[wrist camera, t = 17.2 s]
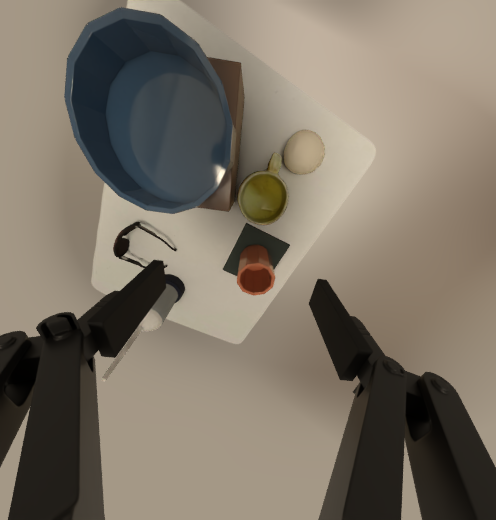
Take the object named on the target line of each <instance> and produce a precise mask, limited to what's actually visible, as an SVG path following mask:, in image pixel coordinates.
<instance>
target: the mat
mask: <svg viewBox="0 0 496 520" xmlns="http://www.w3.org/2000/svg"><path fill="white" fill-rule="evenodd" d="M250 245H260V246H263V247H264V248H266V249H267V251H268V252H269V255H270V256H271V260H272V265H273V270H274V269H275V267H276V266H277V264H278V263H279V261H280V260H281V258H282V257H283V255H284V254H285V252H286V251H287V249H288V248H289V246H290V245H289V244H287V243H285V242H283V241H281V240H279V239H277V238H275V237H273V236H271V235H269V234H267V233H265V232H263V231H261V230H259V229H257V228H255V227H253V226H251V225H249V224H247V223H246V225H245V227H244V229H243V231H242V233H241V235H240V237H239V239H238V241H237V243H236V245H235V247H234V249H233V250H232V252H231V254H230V256H229V258H228V260H227V262H226V264H225V266H224V268H223V270H224V271H226V272H229V273H231V274H233V275H236V276H238V269H239V262H240V255H241V253H242V251H243V250H244V249H245V248H246V247H248V246H250Z"/></svg>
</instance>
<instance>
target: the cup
mask: <svg viewBox="0 0 496 520" xmlns="http://www.w3.org/2000/svg"><path fill="white" fill-rule="evenodd" d="M274 280H275V274H274V270H273V265H272V260H271V256H270V255H269V252H268V251H267V249H266V248H264V247H263V246H260V245H250V246H248V247H246V248H245V249H244V250H243V251H242V253H241V255H240V262H239V269H238V276H237V284H238V285H239V287H240V288H241V290H242V291H243V292H246V293H248V294H251V295H260V294H265V293H266V292H267V291H269V290H270V289H271V288H272V287H273V284H274Z"/></svg>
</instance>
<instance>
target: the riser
mask: <svg viewBox="0 0 496 520" xmlns="http://www.w3.org/2000/svg"><path fill="white" fill-rule="evenodd" d="M207 59H208V60H209V62H210V63H211V65H212V67H213V68H214V70H215V71H216V73H217V75H218V76H219V78H220V79H221V81H222V84H223V86H224V89H225V92H226V95H227V98H228V101H229V105H230V109H231V113H232V117H233V121H234V125H235V129H236V144H235V156H234V164H233V166H232V169H231V171H230V173H229V175H228V177H227V179H226V181H225V183H224V186H223V187H222V188H221V189H220V190H219V191H217V192H216V193H215V194H214V195H213V196H212V197H211V198H209V199H208V200H207V201H206V202H204V203H203V204H201V205H200V206H198V208H206V209H213V210H220V211H228V212H229V211H230V209H231V207H232V206H233V204H234V202H235V194H236V184H237V173H238V162H239V151H240V140H241V129H242V119H243V108H244V88H243V79H242V69H241V63H239V62H233V61H227V60H221V59H215V58H209V57H207ZM119 197H120V196H119Z"/></svg>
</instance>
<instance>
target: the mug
mask: <svg viewBox="0 0 496 520" xmlns="http://www.w3.org/2000/svg"><path fill="white" fill-rule="evenodd" d="M281 162H282V157H281V156H280V155H279V154H277V153H275V152H274V153H273V155H272V157H271V159H270V161H269V163H268V168H267V170H266V171H257V172H254V173H252V174H251V175H249V176H248V177H246V178H245V179H244V181H243V182H242V183H241V185H240V187H239V190H238V194H237V201H238V204H239V207H240V210H241V212H242V214H243V215H244V216H245V218H247V220H249V221H250V222H253V223H255V224H258V225H269V224H271V223H274V222H275V221H277V220H278V219H279V218H280V217H281V216H282V215H283V213H284V211H285V210H286V207H287V204H288V198H289V195H288V190H287V186H286V184H285V183H284V181H283V180H282V179H281V178H280V177H279V176H278V172H279V169H280V167H281Z"/></svg>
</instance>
